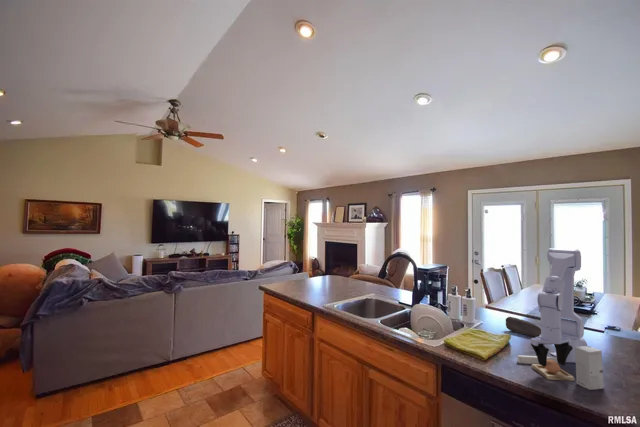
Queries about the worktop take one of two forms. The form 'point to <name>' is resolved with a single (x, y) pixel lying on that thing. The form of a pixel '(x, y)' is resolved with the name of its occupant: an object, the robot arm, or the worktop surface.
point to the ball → (552, 366)
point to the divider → (531, 359)
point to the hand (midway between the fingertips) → (551, 364)
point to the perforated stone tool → (522, 326)
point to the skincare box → (589, 367)
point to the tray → (553, 376)
